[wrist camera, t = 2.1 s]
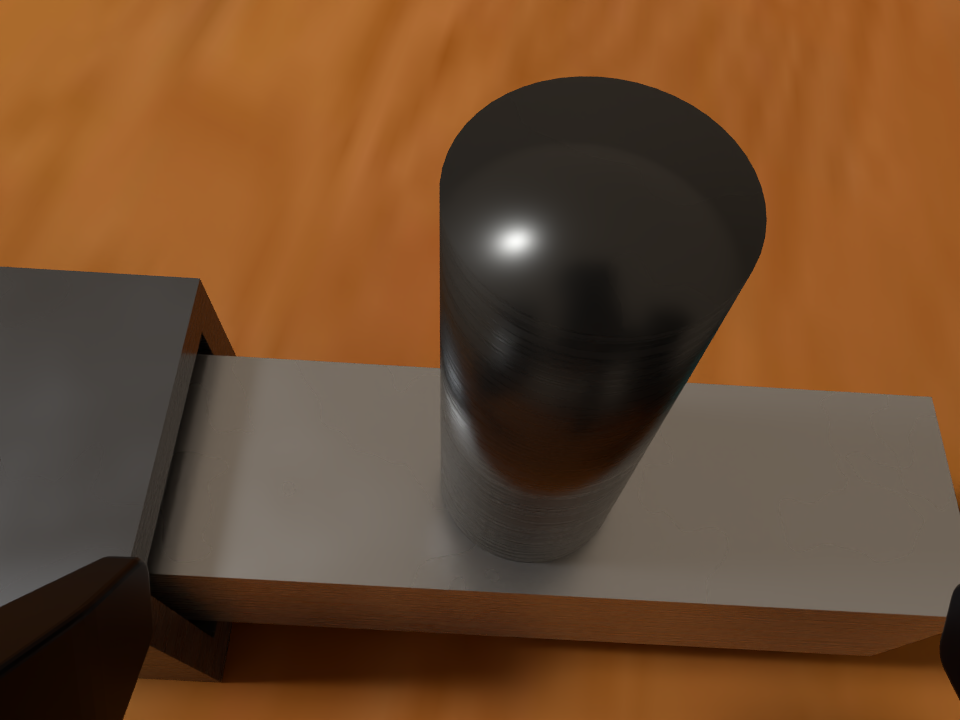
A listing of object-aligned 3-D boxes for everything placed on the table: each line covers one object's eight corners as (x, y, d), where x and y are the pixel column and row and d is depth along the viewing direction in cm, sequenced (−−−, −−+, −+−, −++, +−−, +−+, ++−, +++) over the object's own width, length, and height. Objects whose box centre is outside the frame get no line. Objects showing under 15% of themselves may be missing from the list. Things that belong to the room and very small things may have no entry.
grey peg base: (-360, 590, 16) (-1658, 257, 6) (-266, 409, 18) (-1145, -71, 8) (871, 656, 17) (1525, 443, 7) (839, 472, 19) (1309, 89, 9)
